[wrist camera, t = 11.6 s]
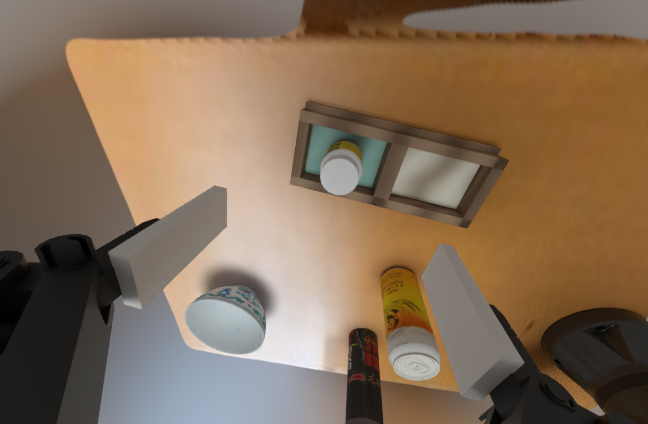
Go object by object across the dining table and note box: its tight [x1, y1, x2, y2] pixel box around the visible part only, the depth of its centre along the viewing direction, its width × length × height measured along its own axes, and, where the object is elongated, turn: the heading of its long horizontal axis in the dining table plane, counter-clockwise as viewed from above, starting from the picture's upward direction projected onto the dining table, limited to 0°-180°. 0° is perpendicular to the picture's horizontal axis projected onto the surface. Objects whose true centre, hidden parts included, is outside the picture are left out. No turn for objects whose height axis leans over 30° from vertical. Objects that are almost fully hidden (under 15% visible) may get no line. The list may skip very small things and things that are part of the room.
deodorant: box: [346, 328, 383, 424], centre depth 42 cm, size 6×6×15 cm
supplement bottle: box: [320, 139, 363, 195], centre depth 27 cm, size 5×5×8 cm
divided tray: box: [290, 101, 509, 228], centre depth 30 cm, size 24×11×4 cm, turn 79°
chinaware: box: [185, 285, 266, 354], centre depth 45 cm, size 15×15×8 cm
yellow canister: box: [380, 268, 441, 381], centre depth 34 cm, size 6×6×15 cm
